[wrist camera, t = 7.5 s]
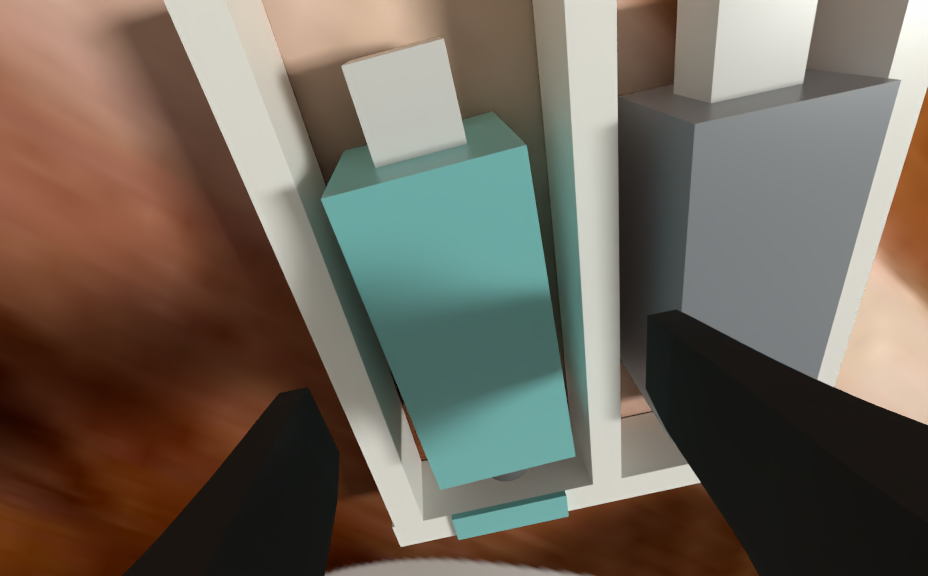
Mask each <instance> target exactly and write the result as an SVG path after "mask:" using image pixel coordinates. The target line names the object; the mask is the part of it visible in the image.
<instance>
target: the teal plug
mask: <svg viewBox="0 0 928 576" xmlns="http://www.w3.org/2000/svg"><path fill="white" fill-rule="evenodd" d="M341 67H342V70H343V73H344V76H345V79H346V82H347V85H348V88H349V91H350V94H351V97H352V100H353V103H354V106H355V109H356V112H357V115H358V118H359V121H360V124H361V127H362V130H363V133H364V136H365V139H366V142H367V145H364V146H360V147H356V148H352V149H348V150H345V151H344V152H343V154H342V156H341V158H340V160H339V162H338V164H337V166H336V168H335V170H334V172H333V174H332V177H331V179H330V181H329V183H328V185H327V187H326V189H325V191H324V193H323V195H322V197H321V201H322V204H323V206H324V208H325V211H326V213H327V216H328V218H329V221H330V223H331V225H332V228H333V230H334V233H335V235H336V238H337V240H338V242H339V245H340V247H341V250H342V252H343V255H344V257H345V259H346V262H347V264H348V267H349V269H350V272H351V274H352V276H353V279H354V281H355V284H356V286H357V289H358V291H359V294H360V296H361V298H362V301H363V303H364V306H365V308H366V311H367V313H368V315H369V318H370V320H371V323H372V325H373V328H374V330H375V332H376V335H377V337H378V340H379V342H380V345H381V347H382V349H383V352H384V354H385V357H386V359H387V362H388V364H389V366H390V369H391V371H392V374H393V376H394V379H395V381H396V383H397V386H398V388H399V391H400V393H401V396H402V398H403V400H404V403H405V405H406V408H407V410H408V413H409V415H410V418H411V420H412V422H413V425H414V427H415V430H416V432H417V435H418V437H419V439H420V442H421V444H422V447H423V449H424V452H425V454H426V456H427V459H428V461H429V464H430V466H431V469H432V471H433V473H434V476H435V478H436V481H437V483H438V486H439V488H440V490H443V489H447V488H451V487H455V486H459V485H463V484H467V483H471V482H475V481H479V480H483V479H487V478H491V477H492V478H493V479H495V480H498V481H505V482H506V481H512V480H515V479H517V478H519V477H521V476H522V475H523V474H524V473H525V472H526V471H527V469H528V468H531V467H535V466H539V465H543V464H547V463H551V462H555V461H559V460H563V459H567V458H571V457H575V456H576V455H575V449H574V443H573V436H572V430H571V424H570V417H569V411H568V405H567V398H566V392H565V386H564V379H563V373H562V366H561V360H560V354H559V347H558V341H557V335H556V328H555V322H554V316H553V309H552V303H551V297H550V290H549V284H548V277H547V271H546V265H545V258H544V252H543V246H542V239H541V233H540V227H539V220H538V214H537V208H536V201H535V195H534V188H533V182H532V176H531V169H530V163H529V157H528V150H527V145H526V144H525V143H524V142H523V141H522V140H521V139H520V138H519V137H518V136H517V135H516V134H515V133H514V132H513V131H512V130H511V129H510V128H509V127H508V126H507V125H506V124H505V123H504V122H503V121H502V120H501V119H500V118H499V117H498V116H497V115H496V114H495V113H494V112H493V111H492V112H488V113H485V114H481V115H477V116H473V117H469V118H466V119H462V118H461V113H460V109H459V104H458V100H457V95H456V91H455V87H454V82H453V78H452V73H451V69H450V64H449V60H448V55H447V51H446V46H445V42H444V38H441V37H439V36H438V37H434V38H431V39H427V40H423V41H419V42H416V43H412V44H408V45H405V46H401V47H397V48H393V49H390V50H386V51H382V52H379V53H375V54H371V55H367V56H364V57H360V58H356V59H353V60H350V61H348V62H346V63H345V64H343V65H342V66H341Z"/></svg>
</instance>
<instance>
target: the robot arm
mask: <svg viewBox="0 0 928 576" xmlns="http://www.w3.org/2000/svg"><path fill="white" fill-rule="evenodd" d="M645 388H646V390H647V393H648V395H649V397H650V399H651V401H652V403H653V405H654V407H655V409H656V411H657V413H658V415H659V417H660V419H661V421H662V423H663V425H664V427H665V429H666V431H667V432H668V434H669V435H670V437H671V438H672V440H673V441H674V443H675V444H676V446H677V448H678V449H679V451H680V452H681V454H682V455H683V457H684V458H685V460H686V461H687V463H688V464H689V466H690V467H691V469H692V470H693V472H694V473H695V475H696V476H697V478H698V479H699V481H700V482H701V484H702V485H703V487H704V488H705V490H706V491H707V493H708V494H709V496H710V497H711V499H712V500H713V501H714V503H715V504H716V506H717V507H718V509H719V510H720V512H721V513H722V515H723V516H724V518H725V519H726V521H727V522H728V524H729V525H730V527H731V528H732V530H733V531H734V533H735V535H736V536H737V538H738V540H739V541H740V543H741V544H742V546H743V548H744V549H745V551H746V553H747V554H748V556H749V558H750V559H751V561H752V563H753V565H754V567H755V569H756V570H757V572H758V574H759V576H928V425H926V424H923V423H920V422H918V421H915V420H913V419H910V418H907V417H905V416H902V415H900V414H897V413H894V412H892V411H889V410H887V409H884V408H882V407H879V406H876V405H874V404H872V403H869V402H867V401H864V400H862V399H860V398H857V397H855V396H852V395H850V394H848V393H846V392H843V391H841V390H839V389H837V388H834V387H832V386H830V385H828V384H825V383H823V382H821V381H819V380H817V379H814V378H812V377H810V376H808V375H806V374H804V373H801V372H799V371H797V370H795V369H793V368H791V367H789V366H787V365H785V364H783V363H781V362H779V361H777V360H774V359H772V358H770V357H768V356H766V355H764V354H763V353H761V352H759V351H757V350H755V349H753V348H751V347H749V346H747V345H745V344H743V343H741V342H739V341H737V340H735V339H733V338H731V337H730V336H728V335H726V334H724V333H722V332H720V331H718V330H716V329H714V328H712V327H710V326H709V325H707V324H705V323H703V322H701V321H699V320H697V319H695V318H693V317H691V316H689V315H687V314H685V313H683V312H681V311H679V310H677V309H675V310H670V311H666V312H661V313H656V314H651V315H647V346H646V385H645ZM338 479H339V451H338V449H337V447H336V445H335V443H334V441H333V438H332V436H331V434H330V432H329V430H328V428H327V426H326V424H325V422H324V420H323V417H322V415H321V413H320V411H319V409H318V407H317V405H316V403H315V401H314V399H313V396H312V394H311V392H310V390H309V388H308V387H307V388H302V389H297V390H292V391H288V392H283V393H279V394H278V396H277V397H276V398H275V399H274V400H273V401H272V403H271V404H270V405H269V406H268V407H267V409H266V410H265V411H264V412H263V414H262V415H261V416H260V417H259V419H258V420H257V421H256V422H255V424H254V425H253V426H252V427H251V429H250V430H249V431H248V433H247V434H246V435H245V436H244V438H243V439H242V440H241V441H240V443H239V444H238V445H237V446H236V448H235V449H234V450H233V451H232V452H231V454H230V455H229V456H228V457H227V459H226V460H225V461H224V462H223V464H222V465H221V466H220V467H219V469H218V470H217V471H216V472H215V473H214V475H213V476H212V477H211V478H210V480H209V481H208V482H207V483H206V484H205V485H204V487H203V488H202V489H201V490H200V491H199V492H198V493H197V495H196V496H195V497H194V498H193V499H192V500H191V501H190V503H189V504H188V505H187V506H186V507H185V508H184V509H183V511H182V512H181V513H180V514H179V515H178V516H177V517H176V519H175V520H174V521H173V522H172V523H171V524H170V525H169V527H168V528H167V529H166V530H165V531H164V532H163V533H162V535H161V536H160V537H159V538H158V539H157V540H156V541H155V542H154V543H153V544H152V545H151V546H150V547H149V549H148V550H147V551H146V552H145V553H144V554H143V555H142V556H141V557H140V558H139V559H138V560H137V561H136V562H135V563H134V564H133V565H132V566H131V567H130V568H129V569H128V570H127V571H126V572H125V573H124V574H123V575H122V576H324V575H325V569H326V564H327V558H328V552H329V547H330V541H331V535H332V529H333V523H334V517H335V511H336V505H337V496H338Z"/></svg>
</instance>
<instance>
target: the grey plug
mask: <svg viewBox="0 0 928 576" xmlns="http://www.w3.org/2000/svg"><path fill="white" fill-rule="evenodd" d="M817 3H818V0H678V6H677V27H676V48H675V70H674V84H672V85H667V86H663V87H658V88H653V89H649V90H644V91H639V92H635V93H630V94H625V95H621V96H618V191H619V292H620V360H621V362H622V364H623V365H624V367H625V368H626V370H627V371H628V373H629V375H630V376H631V378H632V379H633V381H634V383H635V384H636V386H637V387H638V389H639V391H640V392H641V394H642V395H643V397H644V399H645V400H646V402H647V403H648V405H649V406H650V408H651V410H652V411H653V413H654V414H655V416H656V418H657V419H658V421H659V422H660V424H661V426H662V427H663V429H664V430H665V432H666V433H667V435H668V437H669V438H670V440H671V441H672V442H674V441H673V440H672V438H671V437H670V435H669V434H668V432H667V431H666V429H665V427H664V425H663V423H662V421H661V419H660V417H659V415H658V413H657V411H656V409H655V407H654V405H653V403H652V401H651V399H650V397H649V395H648V393H647V390H646V388H645V385H646V346H647V315H651V314H656V313H661V312H666V311H670V310H675V309H677V310H679V311H681V312H683V313H685V314H687V315H689V316H691V317H693V318H695V319H697V320H699V321H701V322H703V323H705V324H707V325H709V326H710V327H712V328H714V329H716V330H718V331H720V332H722V333H724V334H726V335H728V336H730V337H731V338H733V339H735V340H737V341H739V342H741V343H743V344H745V345H747V346H749V347H751V348H753V349H755V350H757V351H759V352H761V353H763V354H764V355H766V356H768V357H770V358H772V359H774V360H777V361H779V362H781V363H783V364H785V365H787V366H789V367H791V368H793V369H795V370H797V371H799V372H801V373H804V374H806V375H808V376H810V377H812V378H814V379H818V375H819V371H820V368H821V364H822V361H823V357H824V354H825V350H826V346H827V343H828V339H829V336H830V332H831V329H832V325H833V321H834V318H835V314H836V311H837V307H838V304H839V300H840V297H841V293H842V289H843V286H844V282H845V279H846V275H847V272H848V268H849V264H850V261H851V257H852V254H853V250H854V247H855V243H856V239H857V236H858V232H859V229H860V225H861V222H862V218H863V215H864V211H865V207H866V204H867V200H868V197H869V193H870V190H871V186H872V182H873V179H874V175H875V172H876V168H877V165H878V161H879V157H880V154H881V150H882V147H883V143H884V140H885V136H886V133H887V129H888V125H889V122H890V118H891V115H892V111H893V108H894V104H895V100H896V97H897V93H898V90H899V86H900V83H901V80H898V79H889V78H881V77H872V76H863V75H855V74H846V73H838V72H829V71H820V70H812V69H806V64H807V59H808V53H809V47H810V42H811V36H812V31H813V25H814V20H815V14H816V9H817Z"/></svg>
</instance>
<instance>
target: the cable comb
mask: <svg viewBox="0 0 928 576" xmlns="http://www.w3.org/2000/svg"><path fill="white" fill-rule="evenodd" d="M164 3H165V5H166V7H167V9H168V12H169V14H170V16H171V18H172V21H173V23H174V25H175V28H176V30H177V32H178V34H179V37H180V39H181V41H182V44H183V46H184V48H185V50H186V53H187V55H188V57H189V59H190V62H191V64H192V66H193V69H194V71H195V73H196V75H197V78H198V80H199V82H200V84H201V87H202V89H203V91H204V94H205V96H206V98H207V100H208V103H209V105H210V107H211V109H212V112H213V114H214V116H215V119H216V121H217V123H218V125H219V128H220V130H221V132H222V134H223V137H224V139H225V141H226V144H227V146H228V148H229V150H230V153H231V155H232V157H233V159H234V162H235V164H236V166H237V169H238V171H239V173H240V175H241V178H242V180H243V182H244V185H245V187H246V189H247V191H248V194H249V196H250V198H251V200H252V203H253V205H254V207H255V210H256V212H257V214H258V216H259V219H260V221H261V223H262V225H263V228H264V230H265V232H266V235H267V237H268V239H269V241H270V244H271V246H272V248H273V250H274V253H275V255H276V257H277V260H278V262H279V264H280V266H281V269H282V271H283V273H284V275H285V278H286V280H287V282H288V285H289V287H290V289H291V291H292V294H293V296H294V298H295V300H296V303H297V305H298V307H299V310H300V312H301V314H302V316H303V319H304V321H305V323H306V326H307V328H308V330H309V332H310V335H311V337H312V339H313V341H314V344H315V346H316V348H317V351H318V353H319V355H320V357H321V360H322V362H323V364H324V366H325V369H326V371H327V373H328V376H329V378H330V380H331V382H332V385H333V387H334V389H335V391H336V394H337V396H338V398H339V401H340V403H341V405H342V407H343V410H344V412H345V414H346V416H347V419H348V421H349V423H350V426H351V428H352V430H353V432H354V435H355V437H356V439H357V441H358V444H359V446H360V448H361V451H362V453H363V455H364V457H365V460H366V462H367V464H368V467H369V469H370V471H371V473H372V476H373V478H374V480H375V482H376V485H377V487H378V489H379V492H380V494H381V496H382V498H383V501H384V503H385V505H386V507H387V510H388V512H389V514H390V517H391V519H392V528H393V530H394V533H395V535H396V537H397V539H398V542H399V544H400V546H401V547H403V546H407V545H412V544H417V543H421V542H426V541H431V540H435V539H440V538H445V537H449V536H454V535H457V537H458V540H461V539H466V538H470V537H475V536H480V535H484V534H489V533H494V532H498V531H503V530H508V529H512V528H517V527H522V526H526V525H531V524H536V523H540V522H545V521H550V520H554V519H559V518H564V517H568V516H569V514H568V511H571V510H575V509H580V508H585V507H589V506H594V505H599V504H603V503H608V502H613V501H617V500H622V499H627V498H631V497H636V496H641V495H645V494H650V493H655V492H659V491H664V490H669V489H673V488H678V487H683V486H687V485H692V484H697V483H701V482H700V481H699V479H698V478H697V476H696V475H695V473H694V472H693V470H692V469H691V467H690V466H689V464H688V463H687V461H686V460H685V458H684V457H683V455H682V454H681V452H680V451H679V449H678V448H677V446H676V444H675V443H674V442H672V441H671V440H670V438H669V437H668V435H667V433H666V432H665V430H664V429H663V427H662V426H661V424H660V422H659V421H658V419H657V418H656V416H655V414H654V413H653V412H650V413H646V414H641V415H636V416H632V417H627V418H622V419H621V392H620V292H619V191H618V90H617V0H532V3H533V14H534V25H535V36H536V47H537V58H538V69H539V81H540V92H541V103H542V114H543V125H544V136H545V147H546V158H547V170H548V181H549V192H550V203H551V214H552V225H553V236H554V247H555V258H556V270H557V281H558V292H559V303H560V314H561V325H562V336H563V347H564V359H565V370H566V381H567V392H568V403H569V414H570V424H571V430H572V436H573V443H574V449H575V455H576V456H575V457H571V458H567V459H563V460H559V461H555V462H551V463H547V464H543V465H539V466H535V467H531V468H528V469H527V471H526V472H525V473H524V474H523V475H522V476H521V477H519V478H517V479H515V480H512V481H506V482H505V481H498V480H495V479H493V478H492V477H491V478H487V479H483V480H479V481H475V482H471V483H467V484H463V485H459V486H455V487H451V488H447V489H443V490H440V488H439V486H438V483H437V481H436V478H435V476H434V473H433V471H432V469H431V466H430V464H429V461H428V460H426V461H421V459H420V456H419V453H418V450H417V447H416V445H415V442H414V439H413V436H412V433H411V430H410V427H409V424H408V421H407V419H406V416H405V413H404V410H403V407H402V404H401V401H400V398H399V395H398V393H397V390H396V387H395V384H394V381H393V378H392V375H391V372H390V370H389V367H388V364H387V361H386V358H385V355H384V352H383V349H382V347H381V345H380V342H379V340H378V337H377V335H376V332H375V330H374V328H373V325H372V323H371V320H370V318H369V315H368V313H367V311H366V308H365V306H364V303H363V301H362V298H361V296H360V294H359V291H358V289H357V286H356V284H355V281H354V279H353V276H352V274H351V272H350V269H349V267H348V264H347V262H346V259H345V257H344V255H343V252H342V250H341V247H340V245H339V242H338V240H337V238H336V235H335V233H334V230H333V228H332V225H331V223H330V221H329V218H328V216H327V213H326V211H325V208H324V206H323V204H322V201H321V197H322V195H323V193H324V191H325V189H326V185H325V182H324V179H323V176H322V173H321V171H320V168H319V165H318V162H317V159H316V156H315V153H314V150H313V148H312V145H311V142H310V139H309V136H308V133H307V130H306V127H305V124H304V122H303V119H302V116H301V113H300V110H299V107H298V104H297V101H296V98H295V96H294V93H293V90H292V87H291V84H290V81H289V78H288V75H287V73H286V70H285V67H284V64H283V61H282V58H281V55H280V52H279V49H278V47H277V44H276V41H275V38H274V35H273V32H272V29H271V26H270V24H269V21H268V18H267V15H266V12H265V9H264V6H263V3H262V0H164ZM806 69H812V70H820V71H829V72H838V73H846V74H855V75H863V76H872V77H881V78H889V79H898V80H901V83H900V86H899V90H898V93H897V97H896V100H895V104H894V108H893V111H892V115H891V118H890V122H889V125H888V129H887V133H886V136H885V140H884V143H883V147H882V150H881V154H880V157H879V161H878V165H877V168H876V172H875V175H874V179H873V182H872V186H871V190H870V193H869V197H868V200H867V204H866V207H865V211H864V215H863V218H862V222H861V225H860V229H859V232H858V236H857V239H856V243H855V247H854V250H853V254H852V257H851V261H850V264H849V268H848V272H847V275H846V279H845V282H844V286H843V289H842V293H841V297H840V300H839V304H838V307H837V311H836V314H835V318H834V321H833V325H832V329H831V332H830V336H829V339H828V343H827V346H826V350H825V354H824V357H823V361H822V364H821V368H820V371H819V375H818V379H817V380H819V381H821V382H823V383H825V384H828V385H830V386H832V387H835V383H836V380H837V377H838V374H839V370H840V367H841V364H842V361H843V358H844V354H845V351H846V348H847V345H848V341H849V338H850V335H851V332H852V329H853V325H854V322H855V319H856V316H857V312H858V309H859V306H860V303H861V300H862V296H863V293H864V290H865V287H866V283H867V280H868V277H869V274H870V271H871V267H872V264H873V261H874V258H875V254H876V251H877V248H878V245H879V242H880V238H881V235H882V232H883V229H884V225H885V222H886V219H887V216H888V213H889V209H890V206H891V203H892V200H893V196H894V193H895V190H896V187H897V184H898V180H899V177H900V174H901V171H902V168H903V164H904V161H905V158H906V155H907V151H908V148H909V145H910V142H911V139H912V135H913V132H914V129H915V126H916V122H917V119H918V116H919V113H920V110H921V106H922V103H923V100H924V97H925V93H926V90H927V87H928V0H818V3H817V9H816V14H815V20H814V25H813V31H812V36H811V42H810V47H809V53H808V59H807V64H806Z"/></svg>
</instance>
